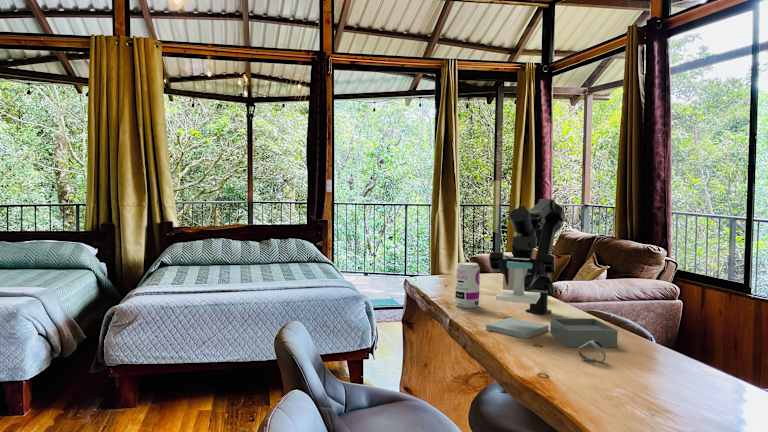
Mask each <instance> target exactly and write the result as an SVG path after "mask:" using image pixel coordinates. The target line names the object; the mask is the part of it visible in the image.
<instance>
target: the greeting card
mask: <svg viewBox="0 0 768 432" xmlns="http://www.w3.org/2000/svg"><path fill="white" fill-rule="evenodd" d="M507 256H508V257H513V255H507ZM532 259H534V257H533V258H532ZM526 273H527V269H525V275H526ZM502 274H503V273H502ZM513 289H514V268H510V267H509V283H508V285H506V280H505V276H504V274H503V275H502V290H513ZM531 290H532V289H531ZM524 291H525V289H524Z"/></svg>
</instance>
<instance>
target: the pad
mask: <svg viewBox="0 0 768 432" xmlns="http://www.w3.org/2000/svg"><path fill="white" fill-rule="evenodd" d="M549 325H550V324H544V323H540V322H535V321H534V322H533V321H528V320H524V319H520V318H515V317H507V318H503V319H500V320H497V321H494V322H490V323H487V324H485V330H486V331H489V332H494V333H500V334H502V335H503V334H504V335H508V336H513V337H517V338H521V339H530V338H533V337H535V336H537V335H539V334H543V333H544V332H547V331H549Z"/></svg>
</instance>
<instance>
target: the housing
mask: <svg viewBox="0 0 768 432" xmlns="http://www.w3.org/2000/svg"><path fill="white" fill-rule="evenodd" d="M549 325H550V328H549V329H550V331H549V334H550V335H551V336H552V337H554V338H555V339H556V340H558V341H559V342H560V343H562V344H563V345H564V344H565V345H564V346H566V347H568V348H579V347H580V346H582V345H584V344H586V343H587V342H589V341H597V342H598V343H600V344H601V345H602V346H603V347H604V348H618V336H619V335H618V332H619V331H618V330H617V329H616V328H615V327H612V326H611V325H608V324H606V323H605V322H602V321H601V320H599V319H597V318H592V317H591V318H584V317H583V318H579V317H578V318H570V317H569V318H564V317H563V318H562V317H560V318H559V317H558V318H555V317H554V318H550V324H549ZM583 348H594V347H593V345H591V344H588V345H586V346H584V347H583Z"/></svg>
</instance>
